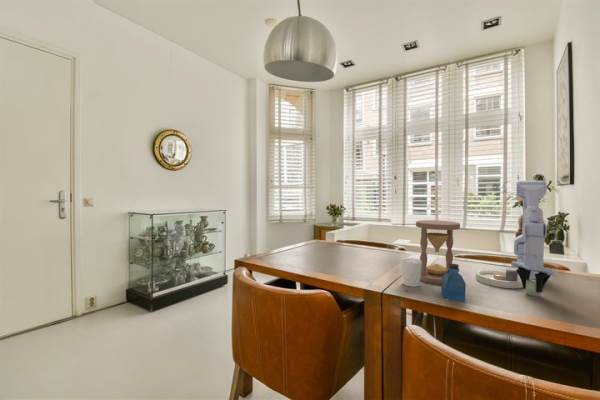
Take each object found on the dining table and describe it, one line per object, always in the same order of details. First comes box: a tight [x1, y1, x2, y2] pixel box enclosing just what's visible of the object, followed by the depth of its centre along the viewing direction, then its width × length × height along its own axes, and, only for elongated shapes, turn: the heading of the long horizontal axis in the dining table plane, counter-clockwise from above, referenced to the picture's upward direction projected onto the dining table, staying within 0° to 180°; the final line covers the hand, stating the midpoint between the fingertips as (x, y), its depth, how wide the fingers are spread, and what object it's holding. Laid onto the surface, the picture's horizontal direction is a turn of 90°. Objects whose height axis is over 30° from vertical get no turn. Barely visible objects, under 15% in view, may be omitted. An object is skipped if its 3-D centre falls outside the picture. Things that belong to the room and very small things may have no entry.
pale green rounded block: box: [525, 279, 540, 297], centre depth 109 cm, size 4×4×5 cm
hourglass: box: [415, 219, 461, 286], centre depth 128 cm, size 18×18×25 cm
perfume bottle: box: [441, 263, 467, 302], centre depth 107 cm, size 6×6×12 cm
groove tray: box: [475, 269, 523, 289], centre depth 125 cm, size 17×17×2 cm
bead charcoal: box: [505, 268, 518, 281], centre depth 120 cm, size 4×4×5 cm
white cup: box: [401, 257, 422, 288], centre depth 121 cm, size 8×8×10 cm
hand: (532, 290), depth 110 cm, fingers closed on pale green rounded block, 4 cm apart
